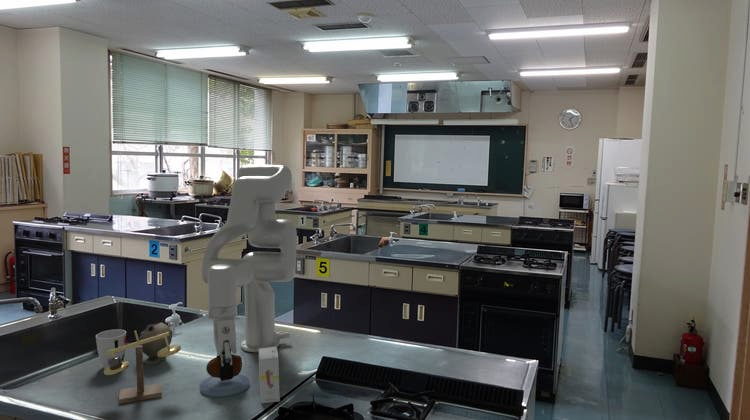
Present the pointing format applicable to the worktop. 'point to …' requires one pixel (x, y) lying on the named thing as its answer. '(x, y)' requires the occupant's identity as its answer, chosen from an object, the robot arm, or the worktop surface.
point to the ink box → (269, 375)
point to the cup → (110, 344)
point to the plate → (224, 386)
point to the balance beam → (116, 362)
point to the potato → (215, 364)
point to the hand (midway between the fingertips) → (224, 373)
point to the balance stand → (140, 384)
